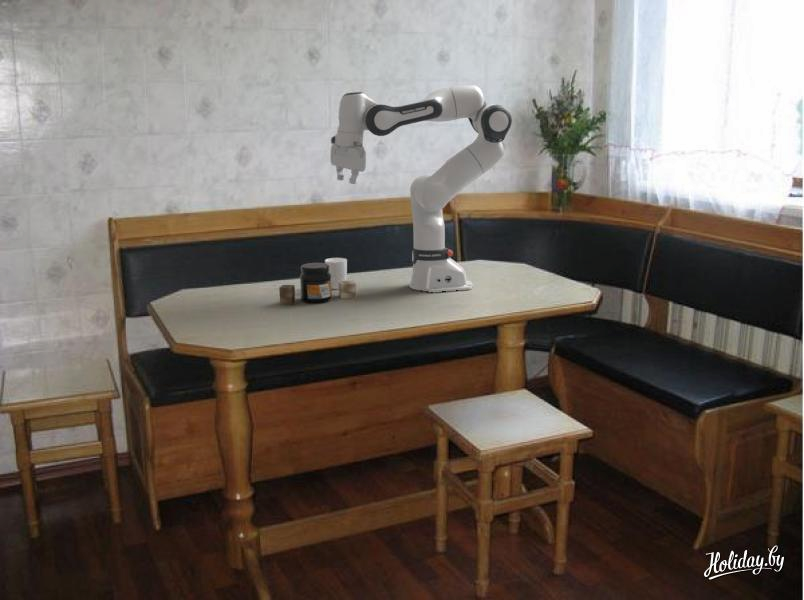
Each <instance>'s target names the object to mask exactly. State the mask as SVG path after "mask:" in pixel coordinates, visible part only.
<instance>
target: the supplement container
mask: <svg viewBox="0 0 804 600" xmlns="http://www.w3.org/2000/svg"><path fill="white" fill-rule="evenodd" d="M300 271H301V274H300V276H299V280H300V281H299V282H300V300H302V302H304V303H307V304H323V303H328V302H329V301H331V300H332V299H333V298H332V297H333V294H332V289H331V274H330V273H329V271H330V267H329V265H328V264H326V263H325V262H310V263H305V264H302V265H301V266H300Z"/></svg>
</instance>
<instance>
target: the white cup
mask: <svg viewBox="0 0 804 600" xmlns="http://www.w3.org/2000/svg"><path fill="white" fill-rule="evenodd" d="M324 263H326V264H328V265H329V267H330V271H329V273H330V274H331V290H339V283H338V281H347V276H348V275H347V274H348V273H347V272H348V259H347V258H344V257H331V258H326V259H324Z"/></svg>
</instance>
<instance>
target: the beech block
mask: <svg viewBox="0 0 804 600" xmlns="http://www.w3.org/2000/svg"><path fill="white" fill-rule="evenodd" d="M338 283H339V289H338V296H339V298H340V299H341V298H342V300H343V298H344V299H354V298H355V297H356V298H357V285H356V284H357V283H356V282H355V281H354V280H346V281H338Z"/></svg>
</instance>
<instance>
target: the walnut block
mask: <svg viewBox="0 0 804 600" xmlns="http://www.w3.org/2000/svg"><path fill="white" fill-rule="evenodd" d="M278 288H279V289H278V290H279V306H293V305H294V304H295V303H296V291H295V284H282V285H281V286H279V287H278Z"/></svg>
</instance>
